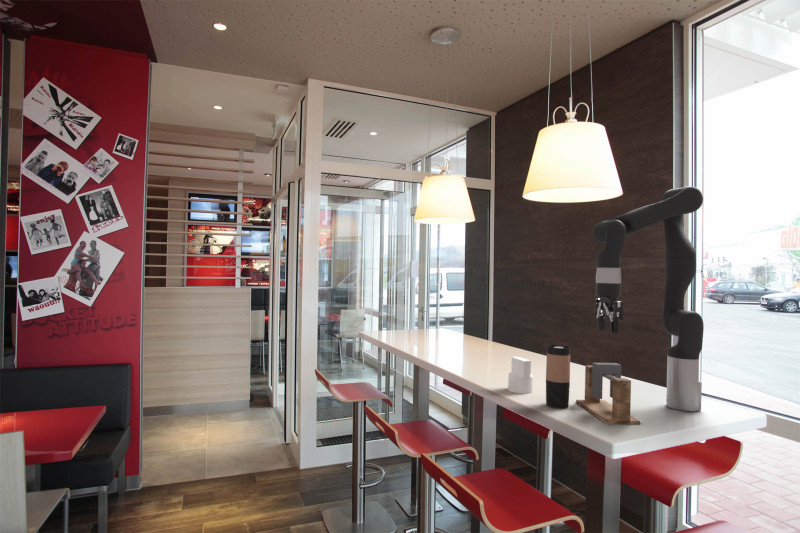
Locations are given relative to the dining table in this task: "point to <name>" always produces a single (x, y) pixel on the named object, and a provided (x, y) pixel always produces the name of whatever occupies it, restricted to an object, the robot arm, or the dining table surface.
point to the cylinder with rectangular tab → (520, 376)
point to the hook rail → (603, 409)
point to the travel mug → (557, 376)
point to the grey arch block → (597, 377)
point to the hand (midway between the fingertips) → (607, 331)
